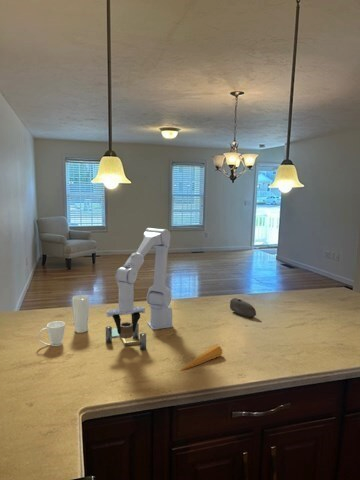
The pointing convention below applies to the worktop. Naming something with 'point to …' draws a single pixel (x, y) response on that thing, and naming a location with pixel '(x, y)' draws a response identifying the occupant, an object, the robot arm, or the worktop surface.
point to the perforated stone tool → (242, 307)
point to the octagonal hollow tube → (126, 330)
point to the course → (135, 336)
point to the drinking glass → (81, 312)
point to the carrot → (205, 356)
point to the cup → (54, 333)
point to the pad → (115, 333)
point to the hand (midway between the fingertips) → (126, 332)
